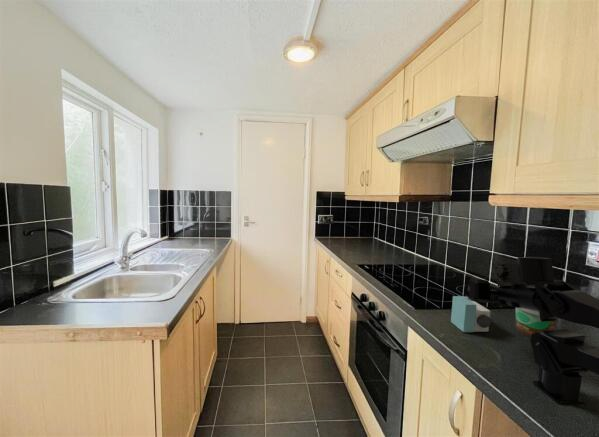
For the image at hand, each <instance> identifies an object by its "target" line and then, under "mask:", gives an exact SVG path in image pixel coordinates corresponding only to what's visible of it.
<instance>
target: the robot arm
mask: <svg viewBox="0 0 599 437" xmlns="http://www.w3.org/2000/svg"><path fill="white" fill-rule="evenodd" d="M553 264H554V263H553V258H550V257H543V256H523V257H522V256H521V257H517V263H513V262H506V263H503V262H502V263H497V264H496V265H495V266H494V268H493V272H494V275H495V277H497V278H499V279H500V281H498V280H497V289H496V290H493V289H491V283H490V281H489V280H488V279H487V280H486V279H478V278H471V279H470V280H469V285H468V286H467V291H468V292H469V297H468V298H469V299H470V300H471V301H474V302H476V303H481V304H482V303H483V304H488V303H489V302H490V301H491V300H492V299H493V300H498V305H506V306H511V307H512V308H515V309H516V308H524V309H529V310H533V311H538V312H539V315H540V320H541V321H542V322H547V321H556V320H557V321H558V319H561V320H564V321H568V322H570V323H574V324H579V325H584V326H589V327H593V328H596V329H599V298H596V297H594V296H592V295H591V294H588V293H586V292H584V290H583V291H582V290H578V289H576V288H575V287H573V286H572V285H570V284H569V283H567V282H566V281H565V280H555V276H554V268H553ZM557 321H556V322H557ZM585 340H586V335H584V334H580V333H576V332H573V331H571V330H569V329H568V328H558V329H554V330H545V331H543V332H535V333H534V334H532V336H531V337H530V345H531V350H532V353H533V358H534V362H535V364H537V365H538V366H539V370H538V377H537V378H538V379H537V380H532V383H531V384H533V385H534V386H536V387H537V388H538V389H540V390H541V392H543V393H544V394H546V396H548V397H549V398H551V399H552V400H553V401H554V402H556V403H557V404H586V402H587V400H586V399H584V398H582V397H581V395H580V393H581V385H582V380H583V376H582V375H581V374H580V373H587V372H589V371H590V372H592V373H594V374H595V375H598V376H599V349H596V348H594V347H592V346H590V345H589V344H588V343H587V342H586V341H585Z"/></svg>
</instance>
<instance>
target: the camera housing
mask: <svg viewBox="0 0 599 437" xmlns="http://www.w3.org/2000/svg"><path fill="white" fill-rule="evenodd" d="M464 297H465V298H466V299H468V300H470V299H469V297H468V296H464ZM470 301H471V300H470ZM471 302H473V303H474V304H476V305H477V306H476V316H475V327H474V332H473V333H475V332H489V327H490V325H491V324H492V320H491V310H489V309H488V308H486V307H485V306H484V305H481V304H480V303H479V302H474V301H471Z"/></svg>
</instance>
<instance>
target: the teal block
mask: <svg viewBox="0 0 599 437" xmlns="http://www.w3.org/2000/svg"><path fill="white" fill-rule="evenodd" d="M465 297H466V296H462V295H457V296H456V295H455V296H454V295H453V296H452V305H451V316H450V322H451V323H452V324H453V325H454V326H455V327H457V328H458V329H459V330H460V331H461V332H463V333H475V332H474V327H475V316H476V306H477V305H476V304H474V303H473V302H471V301H470V300H468V299H466V298H465Z"/></svg>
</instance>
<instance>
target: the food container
mask: <svg viewBox="0 0 599 437" xmlns="http://www.w3.org/2000/svg"><path fill="white" fill-rule="evenodd" d="M557 321H558V319H557V320H556V321H547V322H542V321H541V320H540V315H539V312H538V311H533V310H529V309H524V308H516V307H515V329H516V330H517V331H518V332H519V333H521V334H523V335H525V336H526V337H530V338H531V336H532V334H534V333H535V332H543V331H545V330H556V329H555V327H556V324H557Z"/></svg>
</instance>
